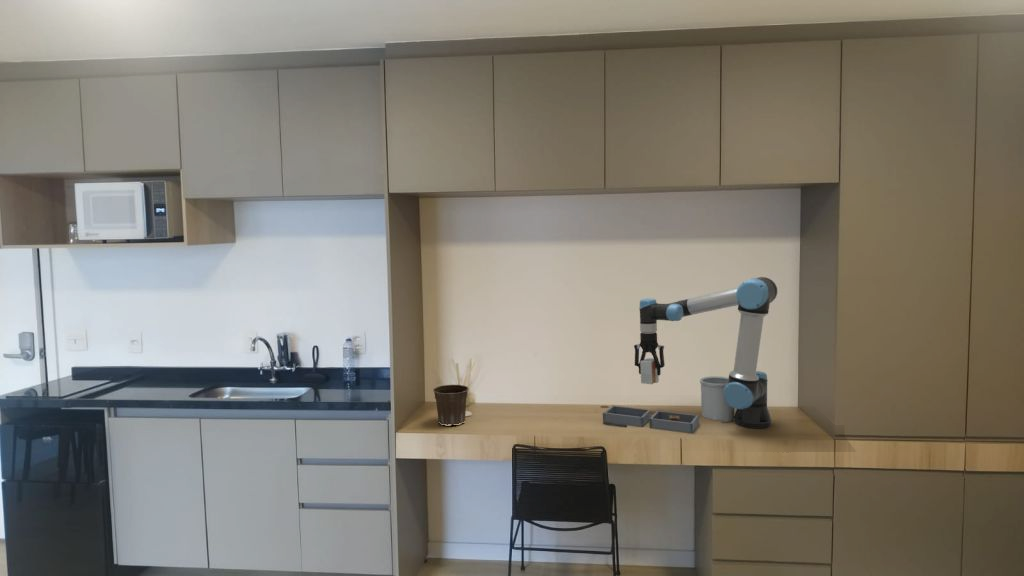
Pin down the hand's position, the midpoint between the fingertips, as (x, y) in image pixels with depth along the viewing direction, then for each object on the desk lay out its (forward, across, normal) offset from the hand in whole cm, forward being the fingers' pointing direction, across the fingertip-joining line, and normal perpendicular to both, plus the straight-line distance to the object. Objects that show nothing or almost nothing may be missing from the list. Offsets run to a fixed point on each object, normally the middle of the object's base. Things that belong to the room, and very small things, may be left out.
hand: (649, 381), depth 270 cm
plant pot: (+15, +80, +47) cm, 94 cm away
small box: (+1, 0, 0) cm, 1 cm away
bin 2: (+16, -14, +15) cm, 26 cm away
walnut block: (+15, -14, +15) cm, 26 cm away
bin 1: (+16, +6, +15) cm, 23 cm away
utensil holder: (+16, -28, -7) cm, 34 cm away
